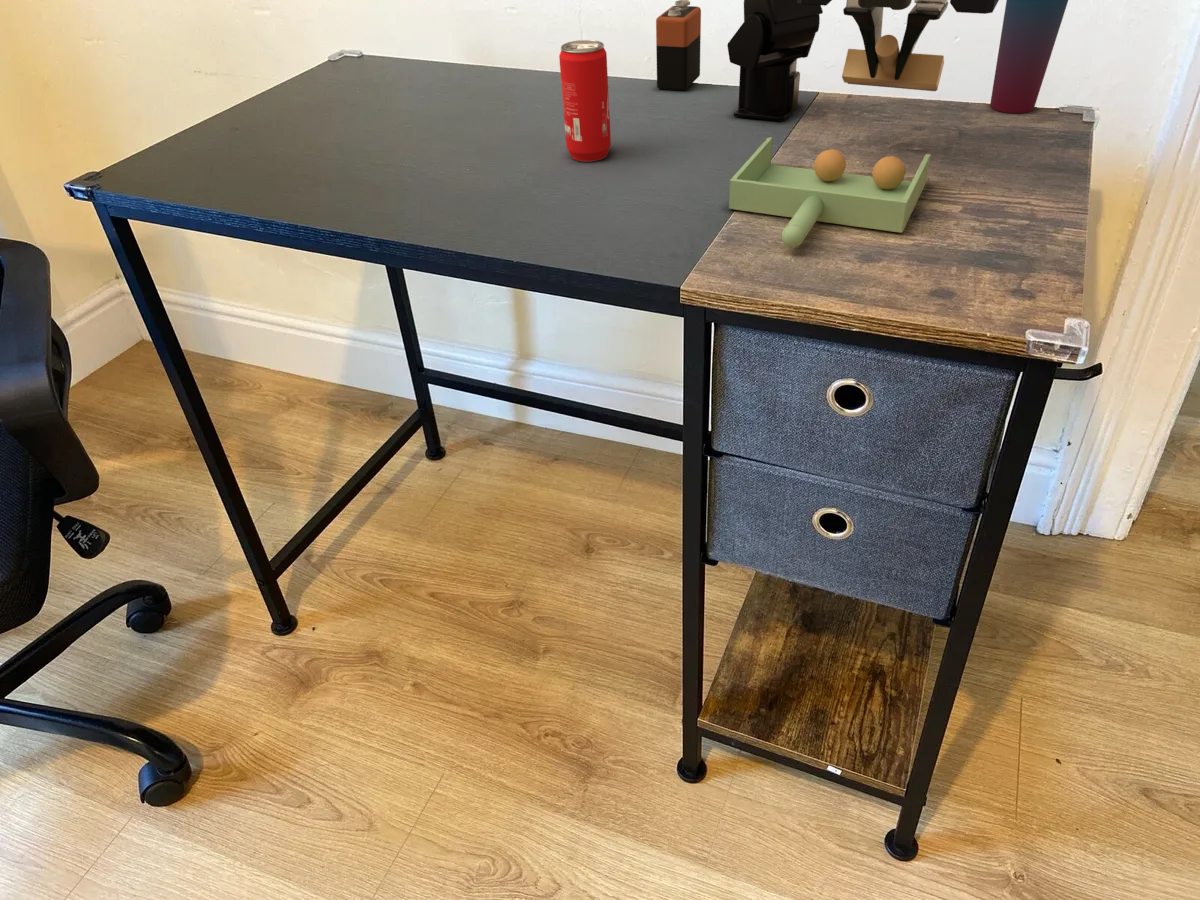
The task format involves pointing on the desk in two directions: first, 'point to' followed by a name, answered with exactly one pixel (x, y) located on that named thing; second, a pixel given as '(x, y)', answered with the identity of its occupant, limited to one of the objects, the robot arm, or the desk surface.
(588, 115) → the beverage can
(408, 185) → the desk surface
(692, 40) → the battery
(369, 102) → the desk surface
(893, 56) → the brush
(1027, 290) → the desk surface
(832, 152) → the cork ball
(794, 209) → the dustpan
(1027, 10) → the cup
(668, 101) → the desk surface
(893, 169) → the cork ball
